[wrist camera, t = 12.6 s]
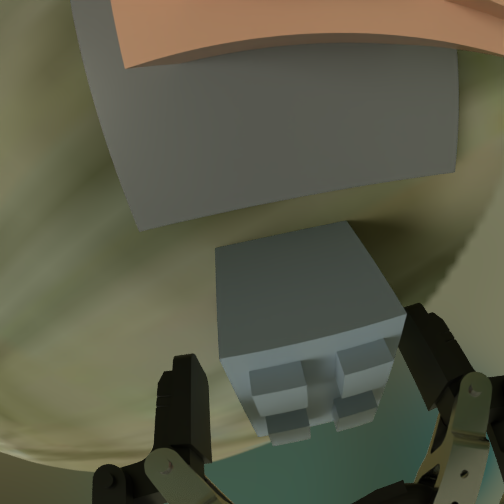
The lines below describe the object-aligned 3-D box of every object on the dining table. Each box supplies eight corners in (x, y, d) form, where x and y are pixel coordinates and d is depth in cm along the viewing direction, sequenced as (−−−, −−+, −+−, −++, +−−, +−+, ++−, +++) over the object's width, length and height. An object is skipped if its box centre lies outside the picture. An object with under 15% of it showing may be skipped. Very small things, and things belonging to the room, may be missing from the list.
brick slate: (215, 246, 12) (220, 385, 7) (345, 219, 11) (419, 335, 7) (246, 344, 15) (260, 454, 10) (343, 322, 15) (383, 423, 10)
